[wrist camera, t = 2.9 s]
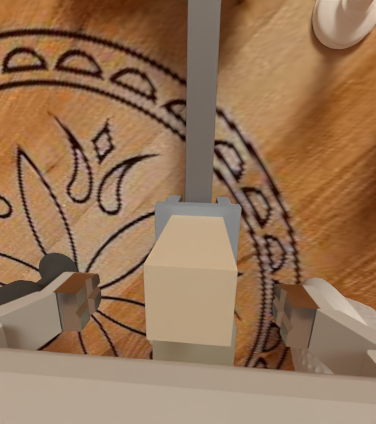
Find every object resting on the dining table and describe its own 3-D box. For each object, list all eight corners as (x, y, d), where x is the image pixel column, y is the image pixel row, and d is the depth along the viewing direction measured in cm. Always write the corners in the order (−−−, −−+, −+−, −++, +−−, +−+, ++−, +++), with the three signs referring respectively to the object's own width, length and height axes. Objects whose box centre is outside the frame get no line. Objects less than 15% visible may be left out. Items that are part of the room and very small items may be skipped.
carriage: (234, 197, 18) (272, 255, 8) (230, 250, 19) (258, 362, 9) (164, 194, 18) (112, 246, 8) (165, 247, 20) (120, 350, 9)
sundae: (87, 298, 26) (-61, 478, 12) (35, 290, 26) (-172, 455, 12) (86, 250, 24) (-90, 392, 10) (30, 242, 25) (-219, 367, 10)
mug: (242, 273, 23) (285, 411, 11) (342, 229, 21) (541, 338, 9) (295, 368, 26) (379, 565, 14) (389, 337, 24) (590, 539, 11)
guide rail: (259, -119, 15) (302, -341, 8) (225, 319, 25) (232, 379, 18) (154, -112, 16) (116, -312, 9) (162, 314, 26) (146, 371, 19)
